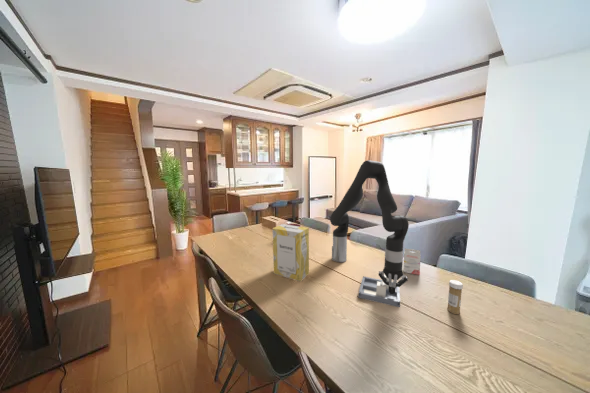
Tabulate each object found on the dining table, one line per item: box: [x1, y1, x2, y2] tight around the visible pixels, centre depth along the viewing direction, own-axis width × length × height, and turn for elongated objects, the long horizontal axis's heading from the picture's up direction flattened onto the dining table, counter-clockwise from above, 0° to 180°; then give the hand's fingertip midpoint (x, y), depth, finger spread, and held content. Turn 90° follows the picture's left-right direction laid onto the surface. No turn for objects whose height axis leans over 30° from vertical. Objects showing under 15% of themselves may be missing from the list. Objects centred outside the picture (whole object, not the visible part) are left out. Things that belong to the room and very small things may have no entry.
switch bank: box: [357, 276, 401, 308], centre depth 106 cm, size 18×17×2 cm
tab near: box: [376, 281, 386, 297], centre depth 102 cm, size 4×4×6 cm
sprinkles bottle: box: [446, 279, 464, 315], centre depth 91 cm, size 5×5×13 cm
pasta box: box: [272, 223, 310, 282], centre depth 125 cm, size 18×10×28 cm, turn 60°
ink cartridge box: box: [402, 248, 422, 276], centre depth 126 cm, size 9×5×15 cm, turn 62°
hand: (391, 293), depth 100 cm, fingers closed
